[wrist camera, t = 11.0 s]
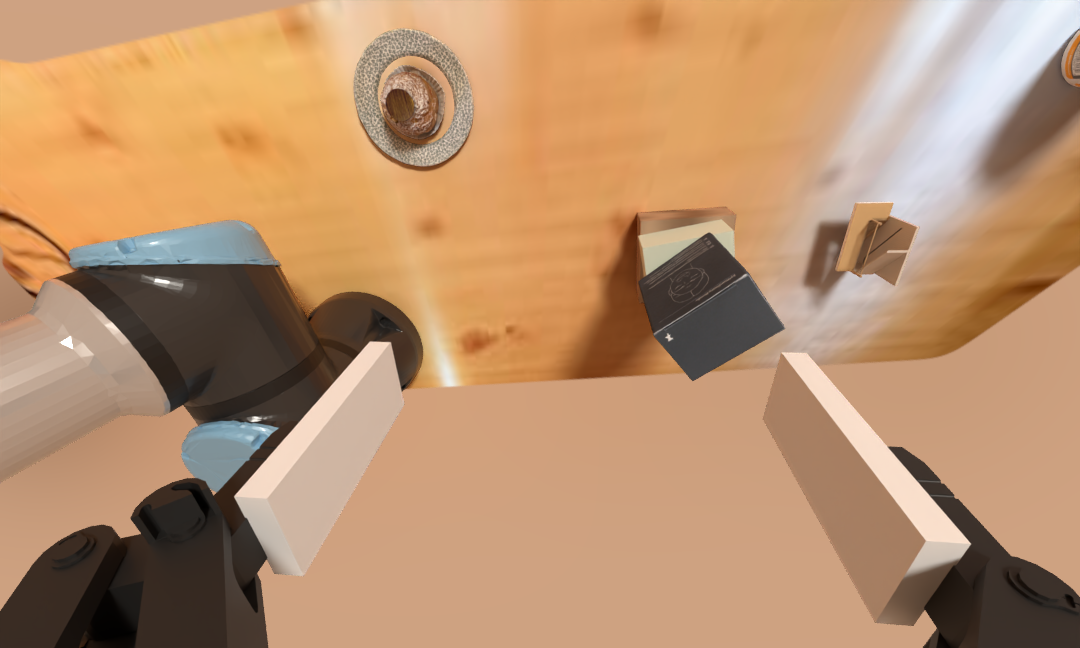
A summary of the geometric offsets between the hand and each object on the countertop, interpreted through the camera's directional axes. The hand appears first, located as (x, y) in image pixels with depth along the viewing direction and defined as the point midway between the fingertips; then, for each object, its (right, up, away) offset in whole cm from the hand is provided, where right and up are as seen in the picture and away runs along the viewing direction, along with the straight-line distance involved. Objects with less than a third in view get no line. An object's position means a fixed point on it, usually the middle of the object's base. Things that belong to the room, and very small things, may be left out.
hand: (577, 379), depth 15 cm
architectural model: (+31, +11, +30) cm, 45 cm away
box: (+13, +6, +26) cm, 29 cm away
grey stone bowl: (-14, +24, +28) cm, 40 cm away
